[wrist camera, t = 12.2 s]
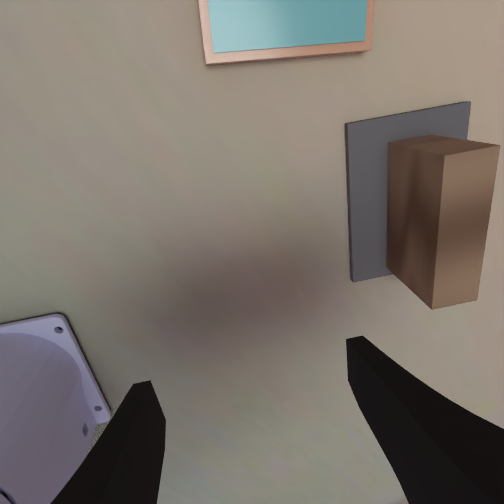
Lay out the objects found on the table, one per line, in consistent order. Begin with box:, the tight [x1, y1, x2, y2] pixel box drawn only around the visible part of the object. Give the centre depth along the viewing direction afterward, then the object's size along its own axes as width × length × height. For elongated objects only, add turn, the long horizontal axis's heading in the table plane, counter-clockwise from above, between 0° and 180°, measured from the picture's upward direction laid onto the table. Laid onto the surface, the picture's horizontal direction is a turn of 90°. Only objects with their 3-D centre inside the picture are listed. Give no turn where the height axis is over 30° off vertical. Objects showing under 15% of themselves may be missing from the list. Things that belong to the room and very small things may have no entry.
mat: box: [345, 102, 471, 282], centre depth 21 cm, size 10×7×1 cm
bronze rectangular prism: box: [386, 134, 500, 310], centre depth 18 cm, size 8×2×5 cm, turn 9°
